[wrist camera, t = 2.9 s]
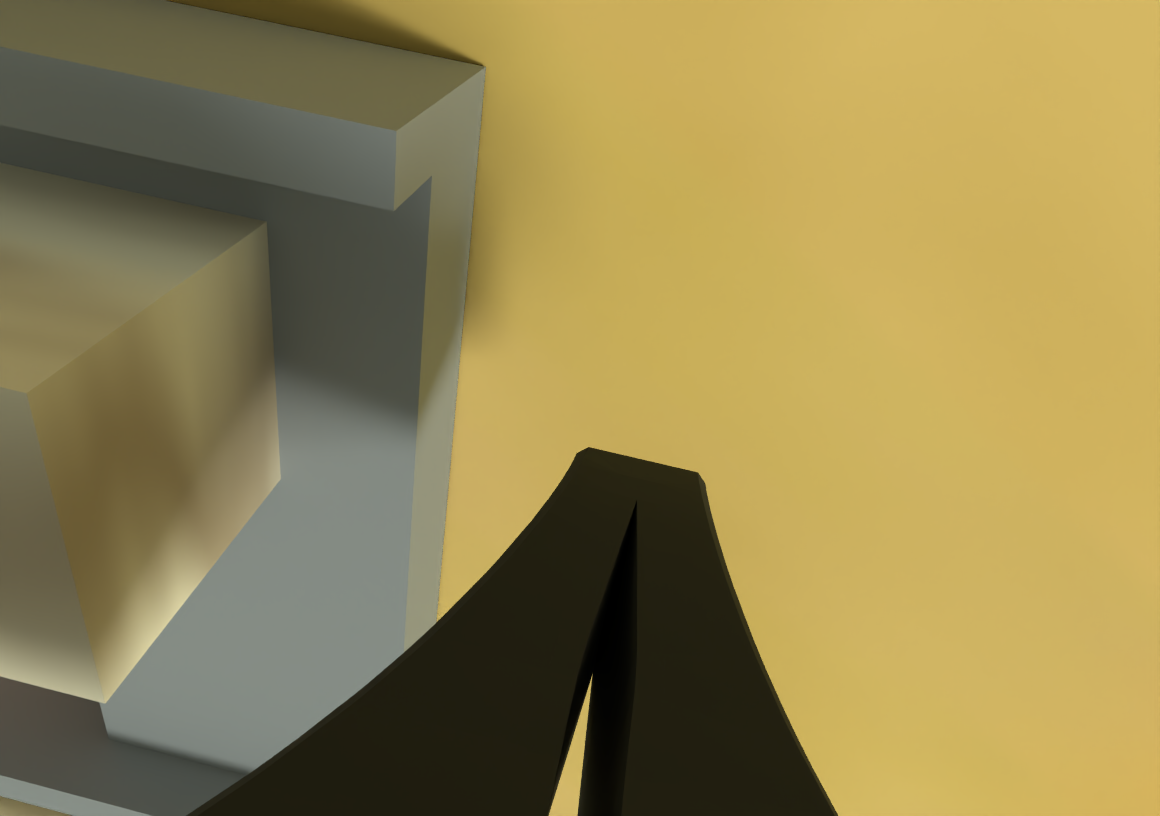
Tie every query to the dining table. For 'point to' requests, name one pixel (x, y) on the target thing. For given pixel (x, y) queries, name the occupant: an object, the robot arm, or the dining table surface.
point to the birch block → (122, 417)
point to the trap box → (302, 368)
